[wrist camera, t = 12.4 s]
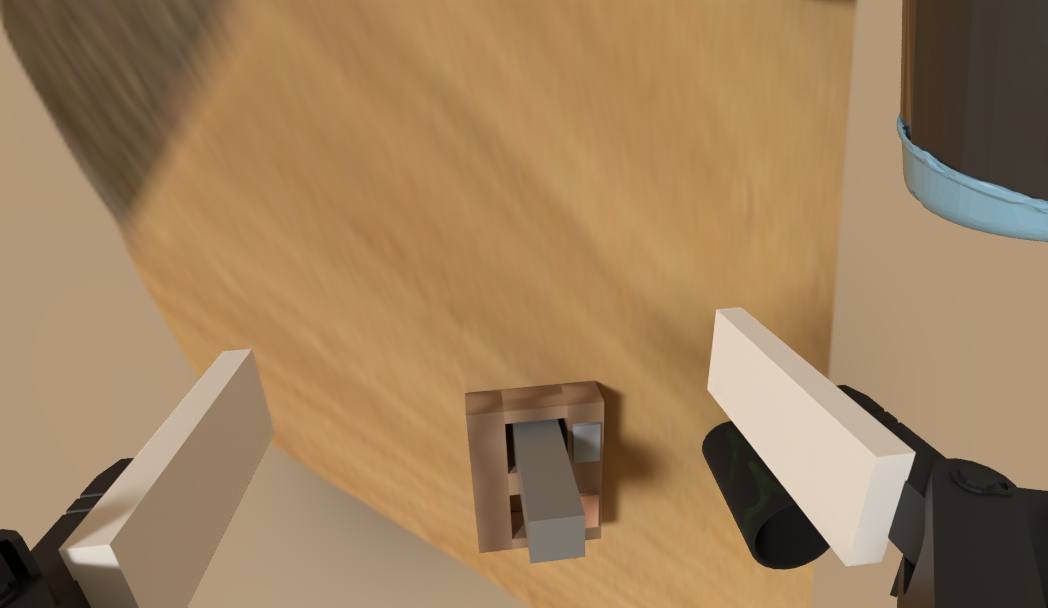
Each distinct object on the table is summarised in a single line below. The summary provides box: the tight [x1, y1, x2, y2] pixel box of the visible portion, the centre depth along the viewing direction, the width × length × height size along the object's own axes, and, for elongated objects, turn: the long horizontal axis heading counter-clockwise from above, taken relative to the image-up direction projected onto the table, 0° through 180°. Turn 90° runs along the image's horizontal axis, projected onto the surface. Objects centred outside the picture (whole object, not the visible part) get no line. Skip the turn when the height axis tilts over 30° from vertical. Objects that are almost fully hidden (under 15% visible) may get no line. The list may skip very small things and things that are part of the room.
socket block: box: [465, 381, 604, 553], centre depth 51 cm, size 12×16×4 cm
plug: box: [511, 419, 585, 563], centre depth 45 cm, size 4×4×14 cm
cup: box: [702, 421, 831, 570], centre depth 50 cm, size 8×8×12 cm
